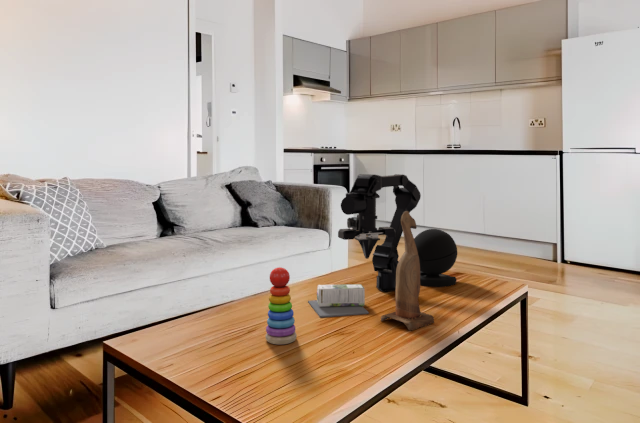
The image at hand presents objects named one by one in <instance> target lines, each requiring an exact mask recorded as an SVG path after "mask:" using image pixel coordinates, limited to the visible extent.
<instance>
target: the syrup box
mask: <svg viewBox="0 0 640 423" xmlns="http://www.w3.org/2000/svg"><path fill="white" fill-rule="evenodd" d="M365 293H366V292H365V286H364V285H362V284H361V283H358V284H355V283H354V284H351V283H350V284H349V283H348V284H341V283H340V284H317V288H316V300H317V302H318V304H319V306H320V307H325V306H362V307H365V305H366V303H365V301H366V300H365V299H366V296H365V295H366V294H365Z"/></svg>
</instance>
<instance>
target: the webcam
mask: <svg viewBox="0 0 640 423" xmlns="http://www.w3.org/2000/svg"><path fill="white" fill-rule="evenodd" d="M413 238H414V237H413ZM414 241H415V244H416V248H417V252H418V256H419V263H420V286H422V287H423V286H424V287H432V288H433V287H434V288H443V287H444V288H445V286H446V287H452V286H455V285H457V277H456V276H451V275H448V274H444V273H447V272H448V271H450V270H451V268H453V266H454V265H455V263H456V262H457V257H458V247H457V244H456V241H455V240H454V238H453V237H452V236H451V235H450V234H449V233H447V232H446V231H444V230H441V229H438V228H429V229H425V230H423V231H421V232H419V233H418V234H417V235H416V236H415V238H414ZM454 284H455V285H454ZM451 285H452V286H451Z"/></svg>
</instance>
